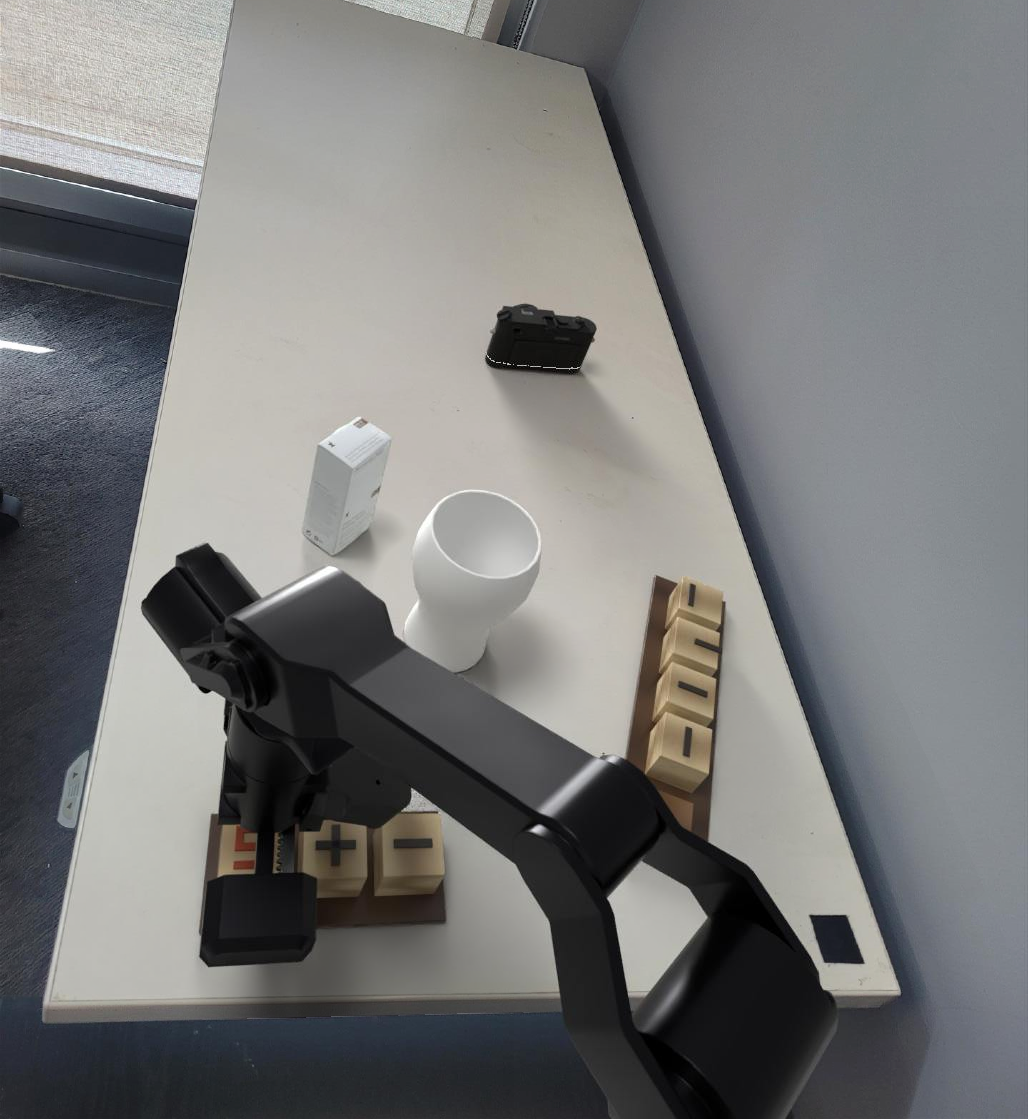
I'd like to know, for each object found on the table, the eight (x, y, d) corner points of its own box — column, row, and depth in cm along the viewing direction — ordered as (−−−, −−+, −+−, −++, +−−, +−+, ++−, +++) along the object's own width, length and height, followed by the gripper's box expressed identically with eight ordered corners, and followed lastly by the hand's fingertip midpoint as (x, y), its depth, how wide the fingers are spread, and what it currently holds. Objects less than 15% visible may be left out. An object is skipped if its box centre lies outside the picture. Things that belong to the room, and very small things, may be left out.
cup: (462, 576, 90) (503, 471, 80) (521, 662, 84) (573, 561, 74) (367, 610, 83) (399, 502, 74) (424, 705, 78) (466, 602, 68)
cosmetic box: (333, 558, 87) (354, 472, 79) (297, 532, 88) (314, 444, 80) (373, 524, 91) (397, 438, 83) (339, 499, 92) (359, 413, 84)
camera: (572, 343, 124) (591, 295, 119) (586, 378, 119) (607, 330, 114) (472, 334, 119) (488, 284, 114) (483, 370, 114) (500, 320, 109)
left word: (436, 813, 72) (449, 788, 69) (444, 922, 66) (459, 900, 63) (210, 816, 67) (214, 788, 64) (198, 934, 61) (202, 909, 58)
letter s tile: (280, 899, 63) (286, 878, 61) (214, 902, 62) (217, 880, 60) (283, 836, 67) (289, 813, 64) (220, 837, 65) (224, 814, 63)
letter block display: (702, 880, 74) (725, 858, 71) (610, 845, 74) (630, 821, 71) (723, 605, 97) (741, 580, 94) (653, 577, 97) (669, 551, 94)
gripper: (428, 903, 48) (375, 995, 58) (409, 608, 61) (369, 725, 71) (206, 912, 45) (191, 1008, 55) (237, 599, 58) (220, 723, 68)
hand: (255, 849), depth 62 cm, fingers open, 9 cm apart
